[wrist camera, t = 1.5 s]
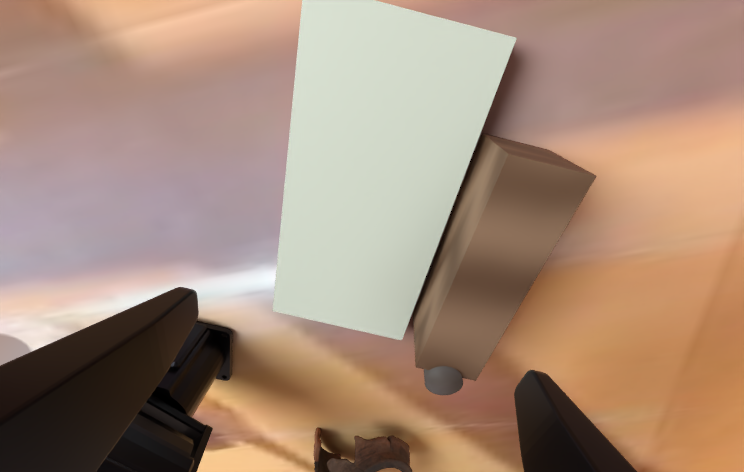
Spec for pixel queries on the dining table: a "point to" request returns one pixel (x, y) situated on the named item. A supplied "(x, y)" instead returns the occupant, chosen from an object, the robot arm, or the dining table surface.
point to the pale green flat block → (377, 156)
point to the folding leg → (491, 255)
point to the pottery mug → (364, 456)
